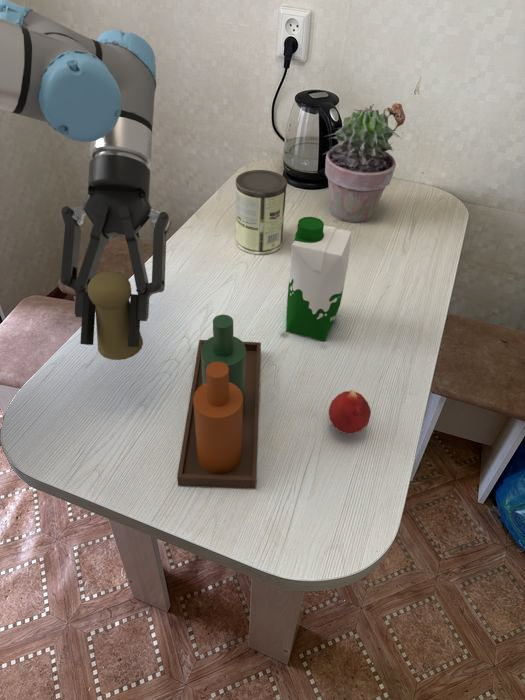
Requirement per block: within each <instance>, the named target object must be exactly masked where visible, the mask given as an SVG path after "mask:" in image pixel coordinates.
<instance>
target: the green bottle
mask: <svg viewBox="0 0 525 700" xmlns="http://www.w3.org/2000/svg"><path fill="white" fill-rule="evenodd" d="M205 340H206V341H205V342H204V343H203V345H202V347H201V363H202V380H203V384H204V383H207V381H206V368H207V366H208V365H209V364H210V363H212V362H223V363H225V364H226V365H227V366H228V368H229V382H231V383H233V384H235V385H236V386H237V387H238V388H239V389H240V390H241V392H242V395H243V412H244V406H245V370H246V347H245V345H244V343H243V342H244V341H242V340H241V339H240V338H238V337H236V336H234V318H233V317H232V316H230V315H228V314H218V315H216V316H214V318H213V319H212V336H211V337H209V338H208V339H205Z"/></svg>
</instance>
